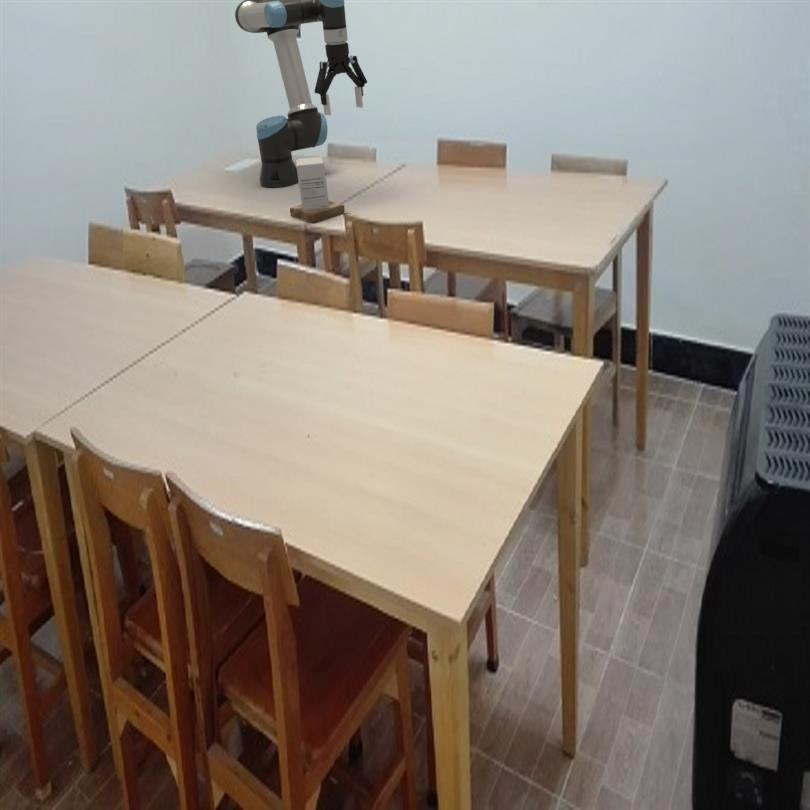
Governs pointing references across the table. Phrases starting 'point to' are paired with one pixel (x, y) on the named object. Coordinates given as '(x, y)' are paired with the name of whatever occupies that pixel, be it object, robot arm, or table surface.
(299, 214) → the walnut base
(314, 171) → the supplement box
